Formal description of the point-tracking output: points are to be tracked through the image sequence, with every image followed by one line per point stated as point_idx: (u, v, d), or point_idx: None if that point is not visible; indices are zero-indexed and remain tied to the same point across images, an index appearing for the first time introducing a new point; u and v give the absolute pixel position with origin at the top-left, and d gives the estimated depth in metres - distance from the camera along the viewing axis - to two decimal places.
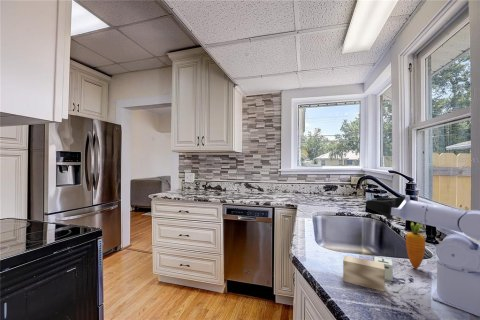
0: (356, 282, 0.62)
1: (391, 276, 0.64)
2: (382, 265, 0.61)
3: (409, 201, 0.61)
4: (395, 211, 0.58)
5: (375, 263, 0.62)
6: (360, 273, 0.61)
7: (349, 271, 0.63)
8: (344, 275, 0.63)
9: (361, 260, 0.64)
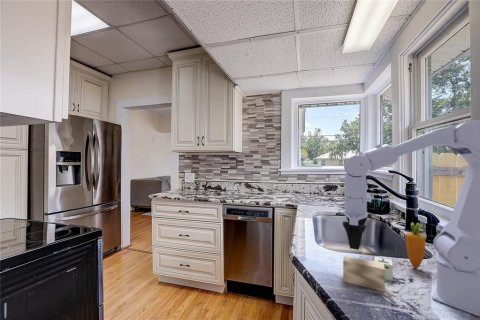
0: (356, 282, 0.62)
1: (391, 276, 0.64)
2: (382, 265, 0.61)
3: (345, 210, 0.64)
4: (352, 221, 0.58)
5: (375, 263, 0.62)
6: (360, 273, 0.61)
7: (349, 271, 0.63)
8: (344, 275, 0.63)
9: (361, 260, 0.64)
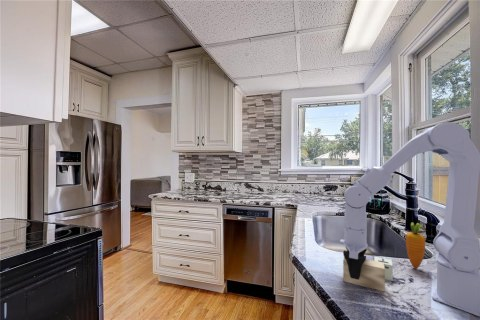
0: (356, 281, 0.62)
1: (391, 276, 0.64)
2: (382, 264, 0.61)
3: (345, 240, 0.64)
4: (352, 254, 0.58)
5: (375, 262, 0.62)
6: (361, 272, 0.61)
7: None
8: (344, 275, 0.63)
9: None
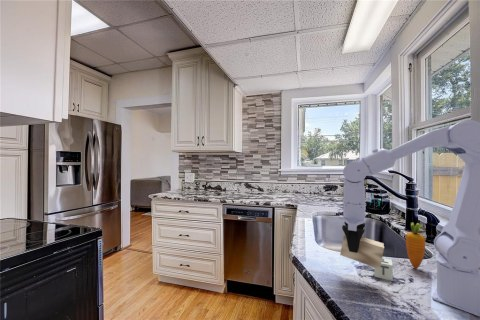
0: (352, 257, 0.63)
1: (391, 276, 0.64)
2: (382, 244, 0.61)
3: (343, 215, 0.65)
4: (351, 226, 0.59)
5: (375, 242, 0.63)
6: (359, 249, 0.62)
7: None
8: (342, 249, 0.64)
9: (362, 237, 0.65)
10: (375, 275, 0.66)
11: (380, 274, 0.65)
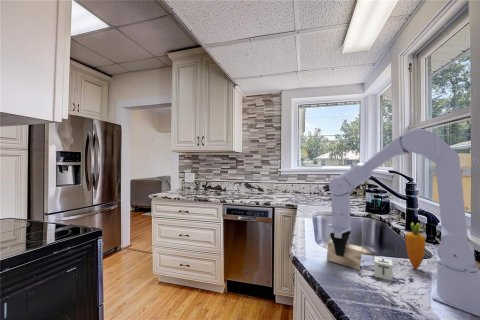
0: (337, 260, 0.73)
1: (391, 276, 0.64)
2: (360, 248, 0.72)
3: (332, 224, 0.75)
4: (337, 234, 0.69)
5: (355, 246, 0.73)
6: None
7: (332, 251, 0.74)
8: (328, 254, 0.75)
9: None
10: (375, 275, 0.66)
11: (380, 274, 0.65)
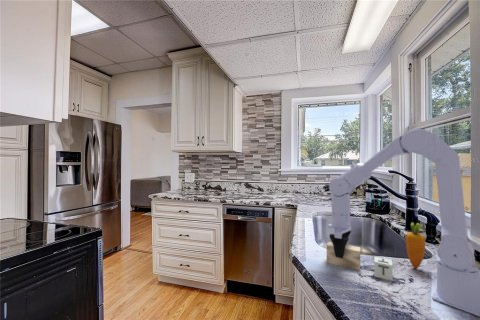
0: (337, 263, 0.74)
1: (391, 276, 0.64)
2: (358, 248, 0.72)
3: (332, 224, 0.75)
4: (337, 234, 0.69)
5: (353, 247, 0.73)
6: None
7: (331, 254, 0.74)
8: (327, 257, 0.75)
9: None
10: (375, 275, 0.66)
11: (380, 274, 0.65)
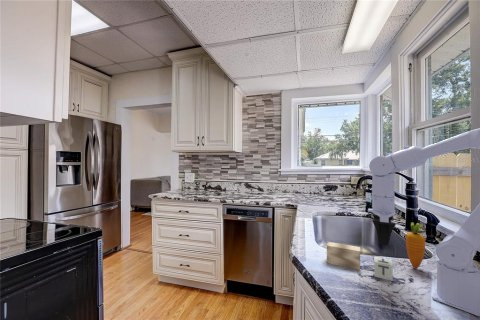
0: (337, 263, 0.73)
1: (391, 276, 0.64)
2: (358, 248, 0.72)
3: (373, 208, 0.67)
4: (383, 218, 0.61)
5: (353, 247, 0.74)
6: (341, 255, 0.73)
7: (331, 254, 0.74)
8: (327, 258, 0.75)
9: (342, 244, 0.76)
10: (375, 275, 0.66)
11: (380, 274, 0.65)
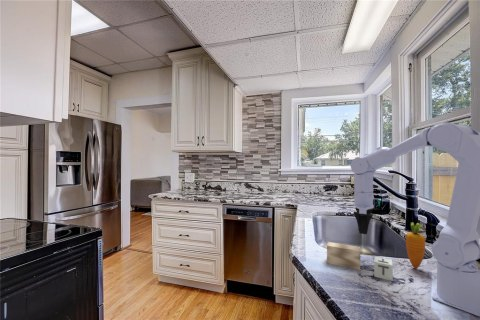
0: (337, 263, 0.73)
1: (391, 276, 0.64)
2: (358, 248, 0.73)
3: (355, 202, 0.77)
4: (361, 210, 0.71)
5: (353, 247, 0.74)
6: (341, 255, 0.73)
7: (332, 254, 0.74)
8: (327, 258, 0.75)
9: (342, 244, 0.76)
10: (375, 275, 0.66)
11: (380, 274, 0.65)
